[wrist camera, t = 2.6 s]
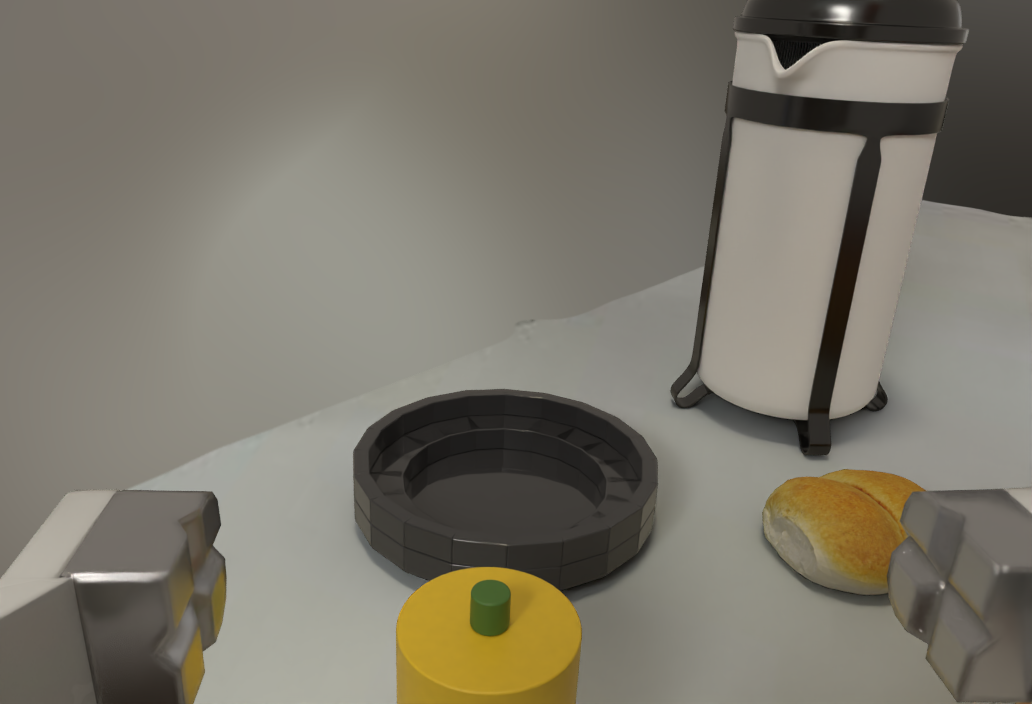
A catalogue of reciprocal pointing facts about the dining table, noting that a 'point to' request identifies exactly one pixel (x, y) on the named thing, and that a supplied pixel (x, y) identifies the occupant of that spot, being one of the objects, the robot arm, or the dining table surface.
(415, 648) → the pepper
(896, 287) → the coffee press
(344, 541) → the dining table surface
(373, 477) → the bowl
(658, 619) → the dining table surface
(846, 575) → the bread roll
